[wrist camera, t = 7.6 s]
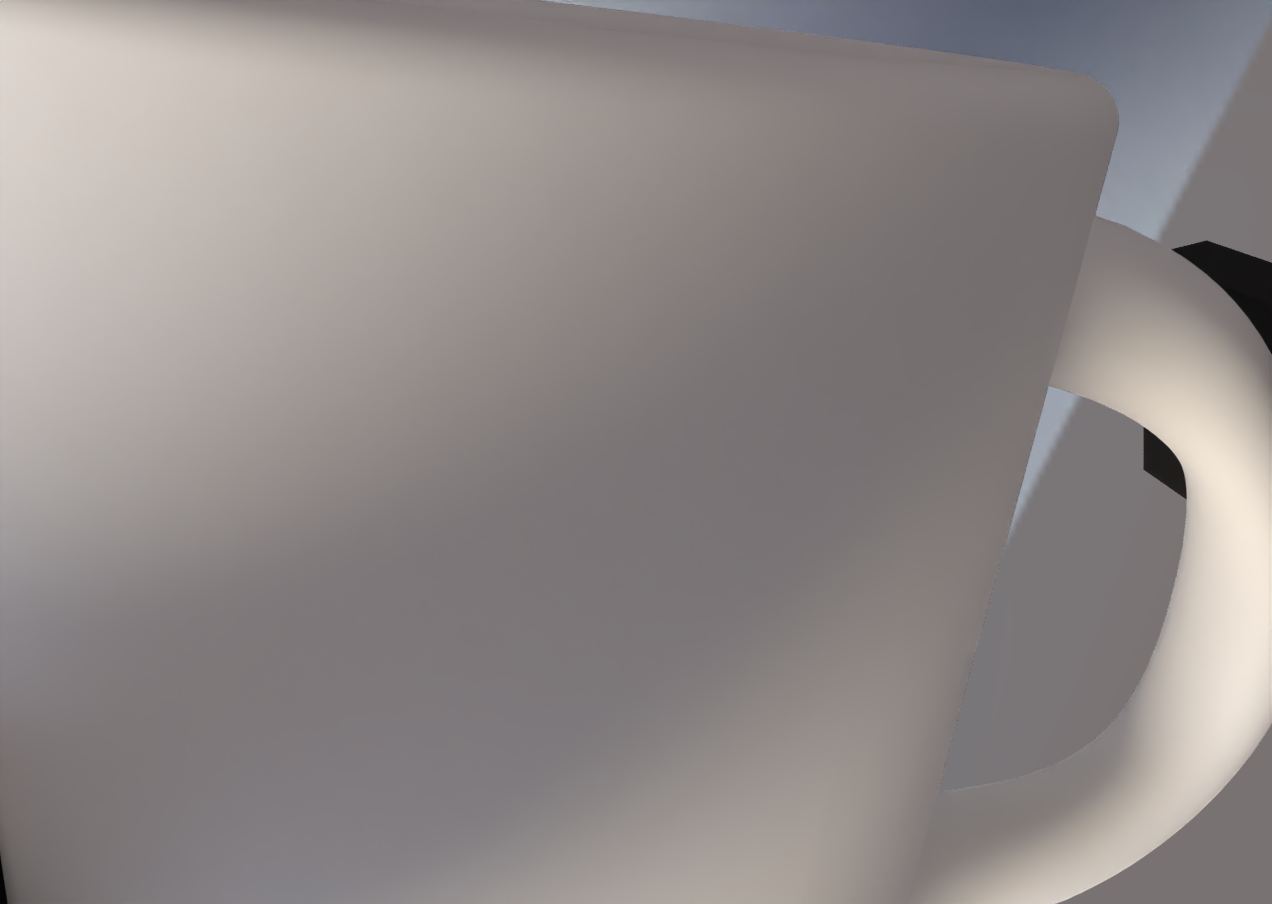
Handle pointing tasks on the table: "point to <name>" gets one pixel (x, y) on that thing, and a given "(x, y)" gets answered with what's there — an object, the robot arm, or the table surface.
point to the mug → (571, 460)
